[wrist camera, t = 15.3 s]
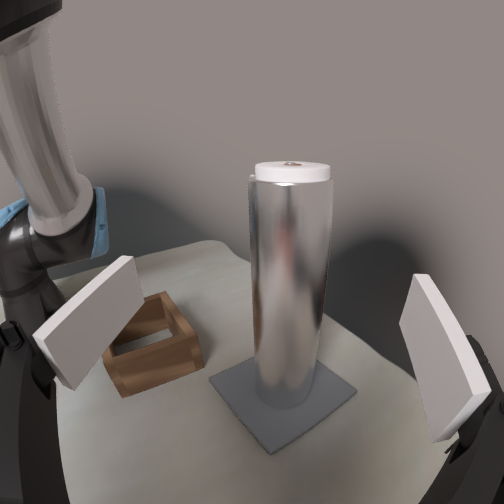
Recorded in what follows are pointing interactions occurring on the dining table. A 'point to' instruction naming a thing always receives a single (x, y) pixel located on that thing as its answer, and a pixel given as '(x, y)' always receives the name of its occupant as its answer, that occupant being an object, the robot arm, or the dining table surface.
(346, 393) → the mat
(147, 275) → the dining table surface
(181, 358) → the square wooden frame
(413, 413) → the dining table surface
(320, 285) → the shiny metal cylinder
